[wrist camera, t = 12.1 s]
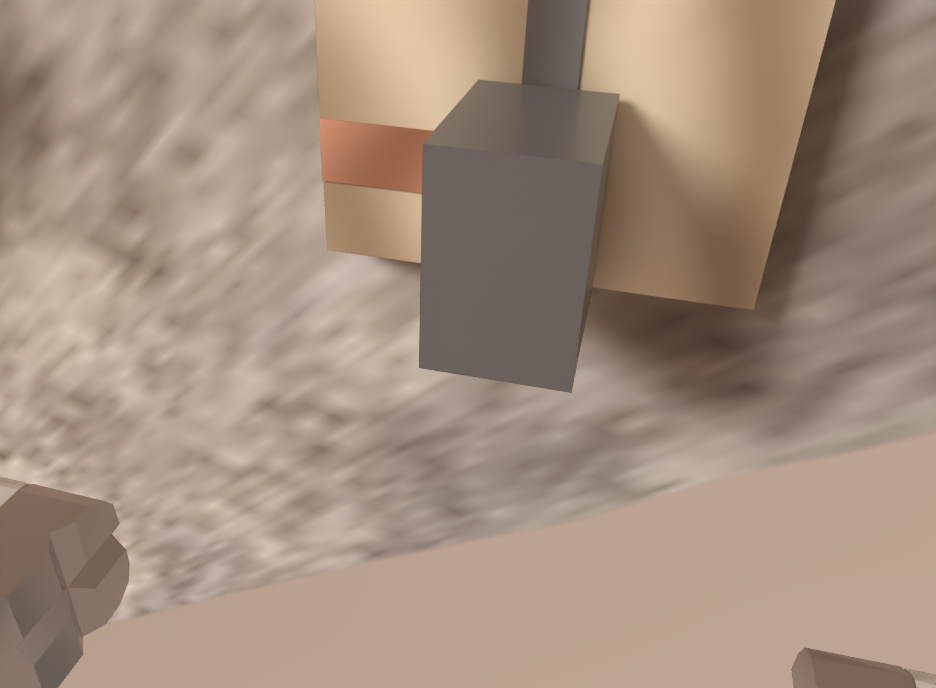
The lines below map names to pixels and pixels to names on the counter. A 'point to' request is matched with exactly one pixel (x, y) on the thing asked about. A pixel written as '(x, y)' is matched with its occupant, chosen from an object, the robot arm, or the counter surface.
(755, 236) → the fader panel
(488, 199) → the fader
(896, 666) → the robot arm
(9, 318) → the counter surface
